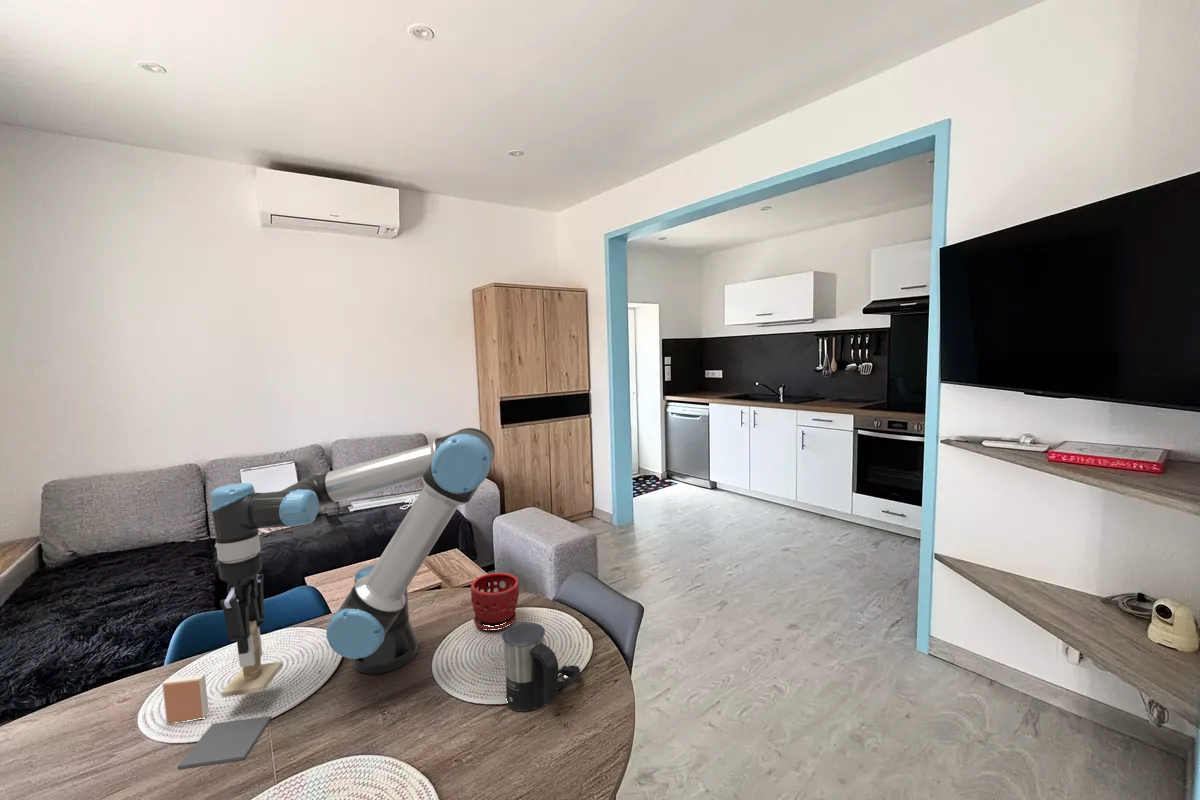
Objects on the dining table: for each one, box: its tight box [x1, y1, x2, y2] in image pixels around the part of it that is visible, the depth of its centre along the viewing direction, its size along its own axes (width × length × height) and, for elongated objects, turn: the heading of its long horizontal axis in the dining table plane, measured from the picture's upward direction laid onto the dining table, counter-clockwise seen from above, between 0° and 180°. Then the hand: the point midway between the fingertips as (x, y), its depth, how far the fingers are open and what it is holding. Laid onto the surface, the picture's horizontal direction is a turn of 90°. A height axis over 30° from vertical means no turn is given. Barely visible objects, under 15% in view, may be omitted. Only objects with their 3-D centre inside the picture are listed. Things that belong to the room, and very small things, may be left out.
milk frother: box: [501, 622, 581, 712], centre depth 111 cm, size 14×16×15 cm
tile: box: [162, 673, 210, 725], centre depth 105 cm, size 7×2×9 cm, turn 100°
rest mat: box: [177, 715, 272, 770], centre depth 99 cm, size 11×11×1 cm
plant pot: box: [470, 572, 520, 630], centre depth 141 cm, size 13×13×12 cm
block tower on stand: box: [220, 621, 284, 698], centre depth 110 cm, size 8×9×13 cm
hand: (251, 660), depth 110 cm, fingers closed on block tower on stand, 2 cm apart
